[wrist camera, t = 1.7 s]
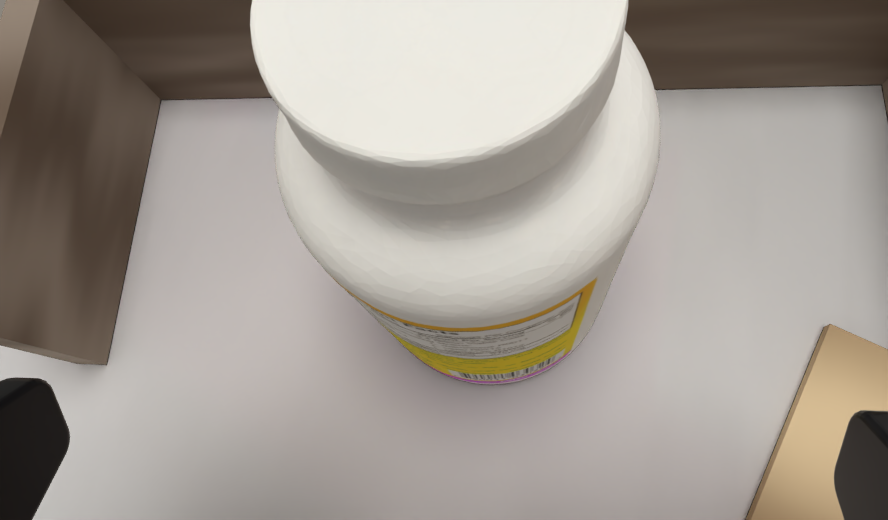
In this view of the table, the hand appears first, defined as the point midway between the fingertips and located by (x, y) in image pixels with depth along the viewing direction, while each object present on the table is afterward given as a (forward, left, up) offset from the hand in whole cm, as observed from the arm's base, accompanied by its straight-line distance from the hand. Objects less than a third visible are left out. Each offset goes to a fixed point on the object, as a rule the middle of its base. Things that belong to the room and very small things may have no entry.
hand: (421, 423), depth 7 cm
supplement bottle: (+5, +2, -12) cm, 13 cm away
